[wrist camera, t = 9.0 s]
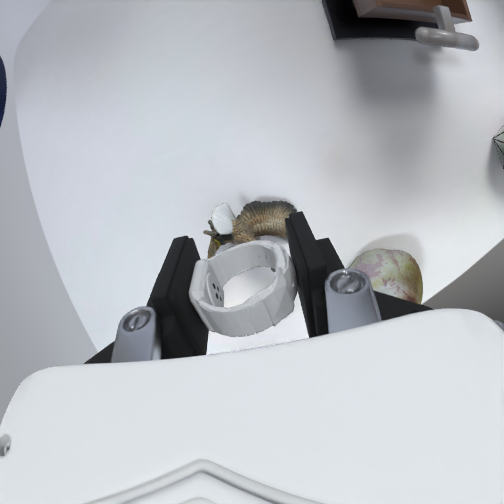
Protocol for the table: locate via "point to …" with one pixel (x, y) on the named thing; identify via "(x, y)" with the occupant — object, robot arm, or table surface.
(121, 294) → the table surface
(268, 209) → the eagle figurine
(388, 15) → the open drawer
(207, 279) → the smartwatch
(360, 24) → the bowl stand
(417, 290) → the fruit
